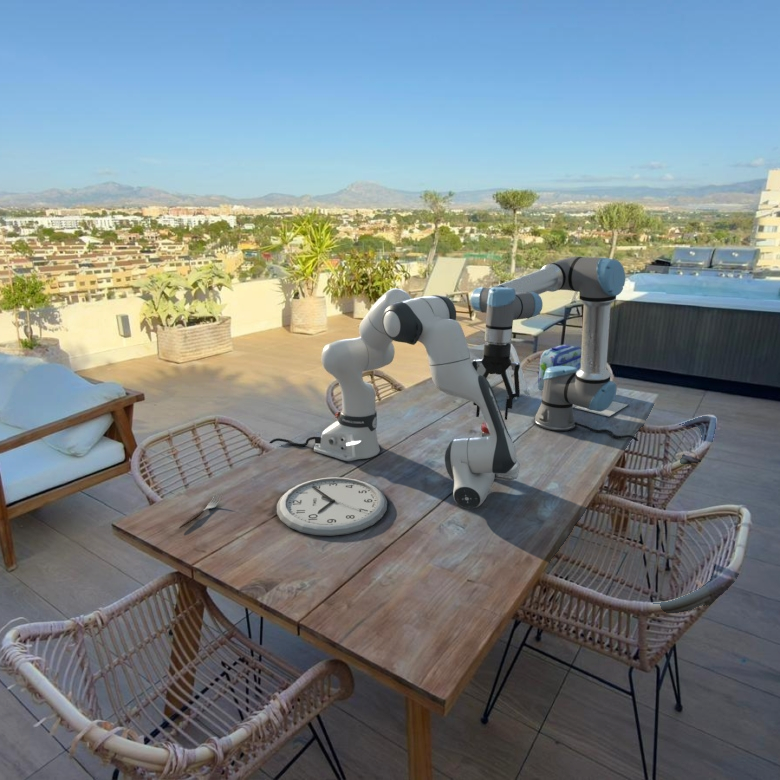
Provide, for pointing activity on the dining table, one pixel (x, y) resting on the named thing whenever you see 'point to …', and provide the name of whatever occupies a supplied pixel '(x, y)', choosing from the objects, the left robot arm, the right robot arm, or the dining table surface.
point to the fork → (209, 506)
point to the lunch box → (558, 360)
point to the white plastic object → (478, 354)
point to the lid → (484, 428)
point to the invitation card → (609, 411)
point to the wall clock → (331, 506)
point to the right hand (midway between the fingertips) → (491, 416)
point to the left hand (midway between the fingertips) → (489, 454)
